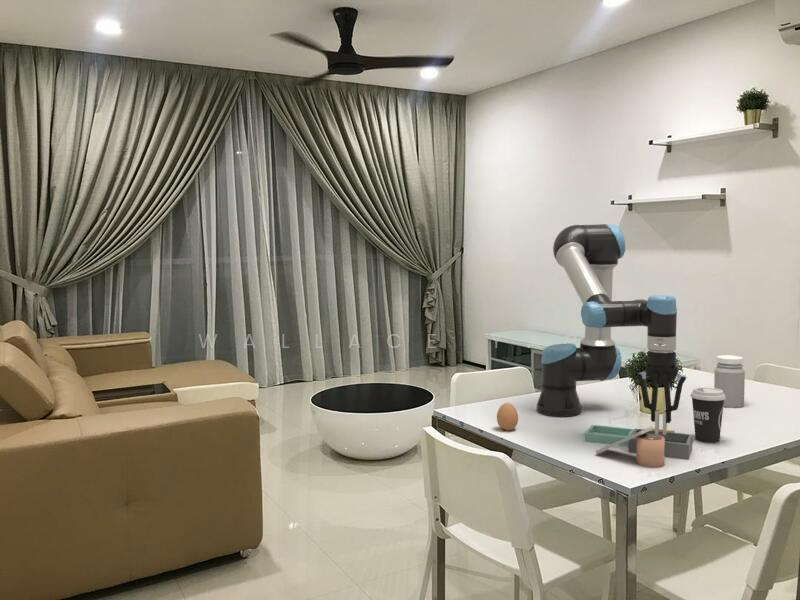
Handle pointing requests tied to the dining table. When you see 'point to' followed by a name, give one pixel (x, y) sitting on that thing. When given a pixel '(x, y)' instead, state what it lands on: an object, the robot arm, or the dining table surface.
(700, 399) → the coffee cup
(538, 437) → the dining table surface
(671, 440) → the grey storage tray
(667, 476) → the dining table surface
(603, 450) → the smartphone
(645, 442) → the salmon cylinder
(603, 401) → the dining table surface
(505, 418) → the egg
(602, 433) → the trough
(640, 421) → the dining table surface
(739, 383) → the jar
